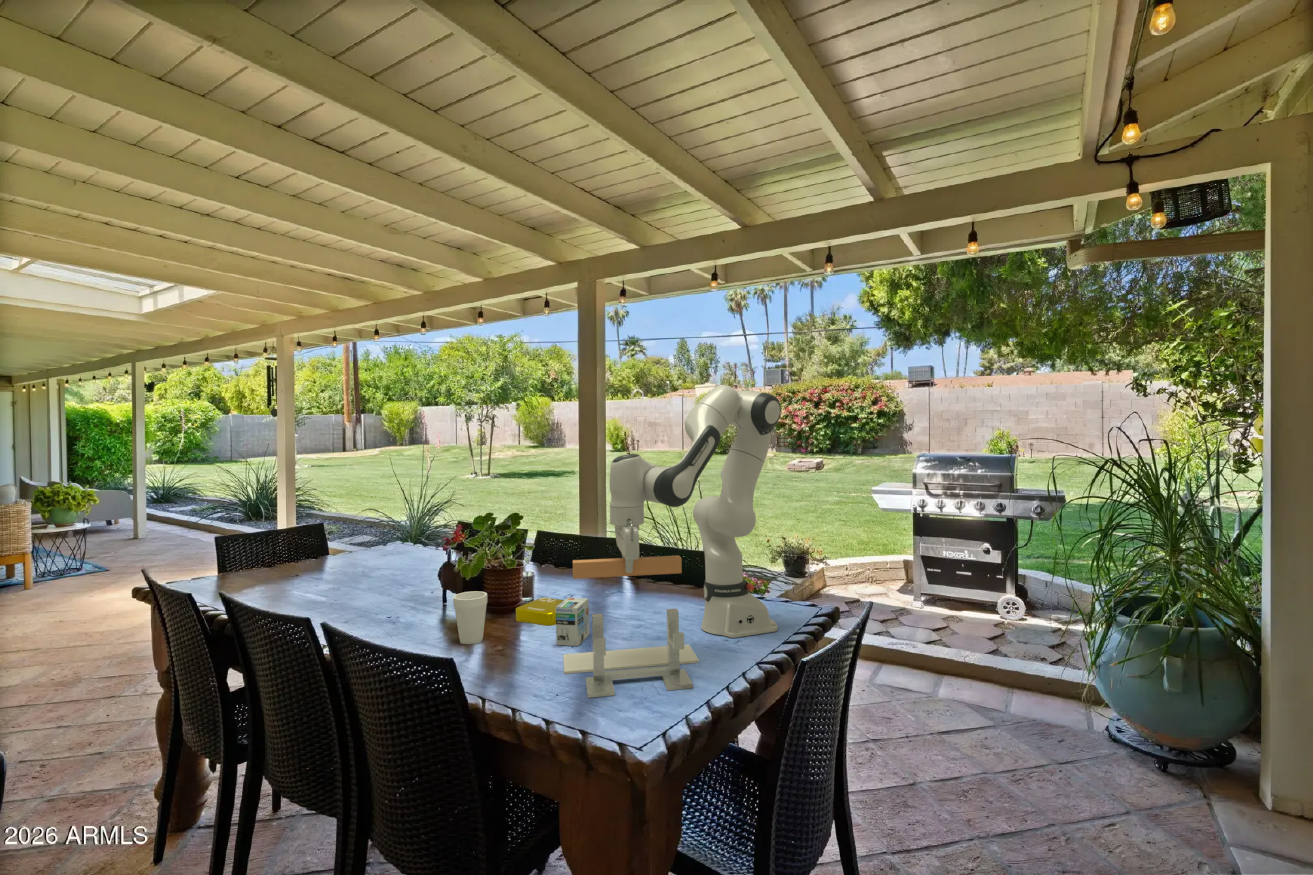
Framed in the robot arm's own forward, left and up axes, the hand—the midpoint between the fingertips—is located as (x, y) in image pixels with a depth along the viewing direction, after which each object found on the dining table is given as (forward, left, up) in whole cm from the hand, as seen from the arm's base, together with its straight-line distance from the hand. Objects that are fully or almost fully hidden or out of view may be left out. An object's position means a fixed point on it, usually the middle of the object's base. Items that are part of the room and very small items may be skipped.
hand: (627, 570), depth 158 cm
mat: (0, 0, -23) cm, 23 cm away
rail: (0, 0, -1) cm, 1 cm away
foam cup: (+43, -25, -23) cm, 55 cm away
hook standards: (0, +17, -23) cm, 29 cm away
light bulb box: (+14, -19, -24) cm, 33 cm away
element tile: (+22, -43, -24) cm, 54 cm away
